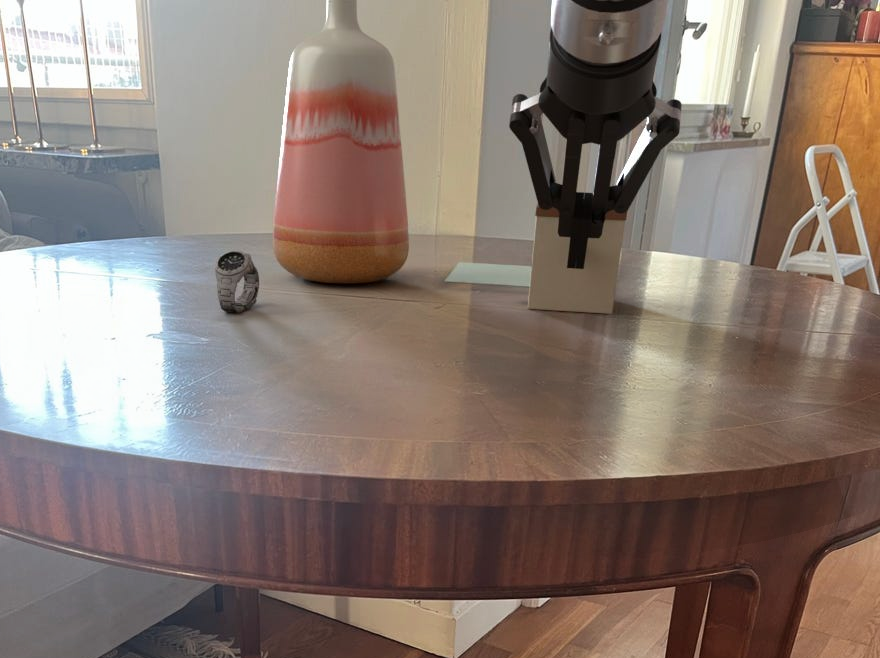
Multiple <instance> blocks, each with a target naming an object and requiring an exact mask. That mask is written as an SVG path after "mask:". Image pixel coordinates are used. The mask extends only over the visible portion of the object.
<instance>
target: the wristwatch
mask: <svg viewBox="0 0 880 658" xmlns="http://www.w3.org/2000/svg"><path fill="white" fill-rule="evenodd" d="M214 274H215V278H216V290H217V300H218V303H219V307H220V309H221V310H222V311H223V312H225V313H232V314H233V313H236V314H240V313H242V312H244V311H248V310H250V309H252V307H254V305H255V304H257V297H258V294H259V290H260V289H259V288H260V275H259V271H258V269H257V267H256V266H255V264H254V262H253V260H252V255H251V254H250V253H248V252H244V251H241V250H229V251H226V252H224V253H223V254H220V256H218V257H217V259H216V260H215V263H214ZM242 278H243V280H244V281H243V290H242V292H241V294H240V295H239V296H238V297H237V298H236V295H235V294H236V291H237V287H238V284H239V283H240V282H241V280H242Z"/></svg>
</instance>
